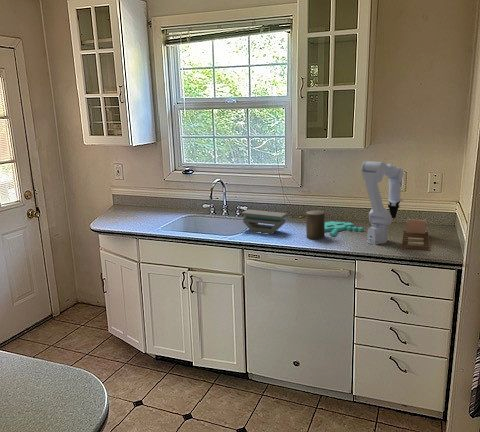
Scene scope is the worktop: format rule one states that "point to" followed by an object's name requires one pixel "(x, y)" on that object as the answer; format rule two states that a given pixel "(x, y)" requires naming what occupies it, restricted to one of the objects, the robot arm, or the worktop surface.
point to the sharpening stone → (263, 220)
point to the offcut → (415, 239)
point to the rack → (415, 235)
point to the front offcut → (416, 243)
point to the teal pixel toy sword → (340, 227)
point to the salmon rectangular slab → (416, 226)
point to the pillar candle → (315, 224)
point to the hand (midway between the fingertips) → (393, 215)
